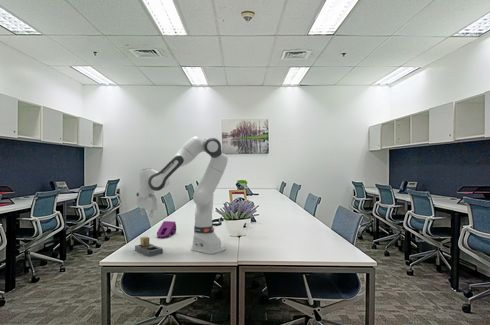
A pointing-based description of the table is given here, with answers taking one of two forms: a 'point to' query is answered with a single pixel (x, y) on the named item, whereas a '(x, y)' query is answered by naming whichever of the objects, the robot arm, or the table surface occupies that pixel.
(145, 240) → the bronze block
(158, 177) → the robot arm
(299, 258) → the table surface
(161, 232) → the mounting bracket
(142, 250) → the gray slotted block
